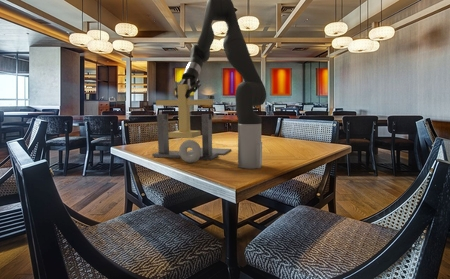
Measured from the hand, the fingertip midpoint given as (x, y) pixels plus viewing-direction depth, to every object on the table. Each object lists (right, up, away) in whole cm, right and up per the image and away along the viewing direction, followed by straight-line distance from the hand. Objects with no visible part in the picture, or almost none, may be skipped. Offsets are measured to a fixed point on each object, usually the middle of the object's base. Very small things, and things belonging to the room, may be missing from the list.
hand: (181, 97), depth 121 cm
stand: (+1, -28, +5) cm, 29 cm away
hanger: (+1, -18, +4) cm, 19 cm away
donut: (+5, -30, -8) cm, 31 cm away
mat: (+12, -26, +18) cm, 34 cm away
